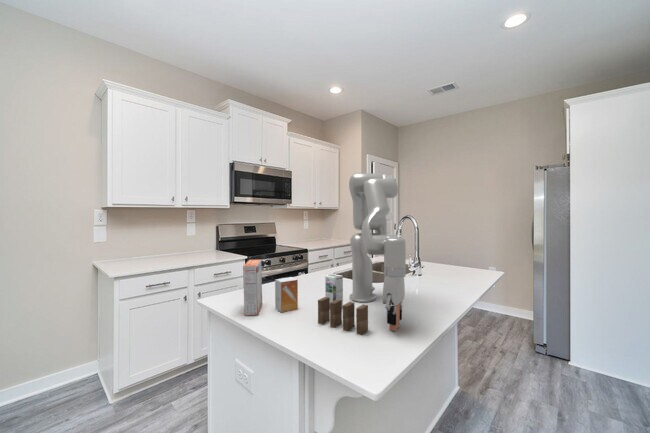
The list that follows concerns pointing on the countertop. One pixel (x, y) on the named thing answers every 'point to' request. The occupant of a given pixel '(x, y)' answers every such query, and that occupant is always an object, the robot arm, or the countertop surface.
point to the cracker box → (252, 287)
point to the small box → (286, 294)
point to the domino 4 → (361, 319)
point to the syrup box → (334, 287)
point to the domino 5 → (397, 312)
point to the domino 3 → (348, 316)
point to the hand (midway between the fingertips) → (394, 321)
